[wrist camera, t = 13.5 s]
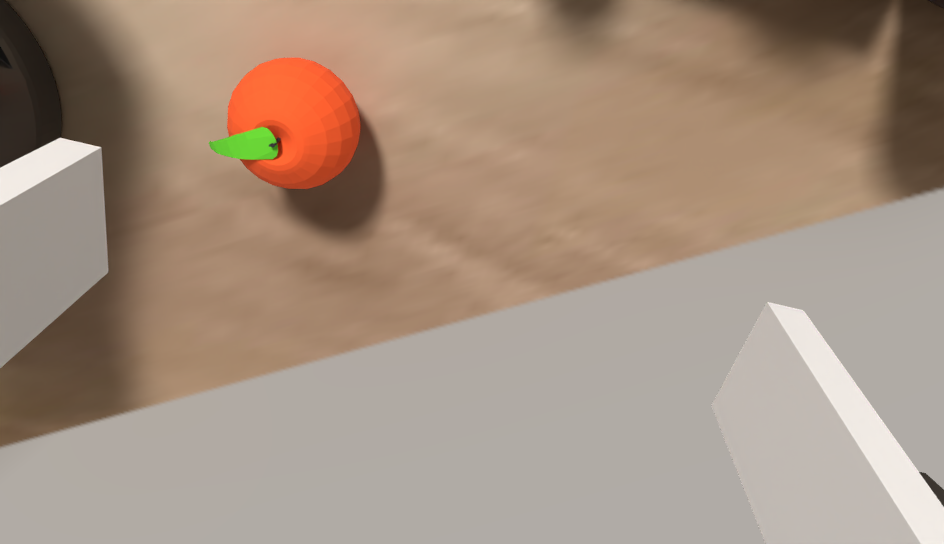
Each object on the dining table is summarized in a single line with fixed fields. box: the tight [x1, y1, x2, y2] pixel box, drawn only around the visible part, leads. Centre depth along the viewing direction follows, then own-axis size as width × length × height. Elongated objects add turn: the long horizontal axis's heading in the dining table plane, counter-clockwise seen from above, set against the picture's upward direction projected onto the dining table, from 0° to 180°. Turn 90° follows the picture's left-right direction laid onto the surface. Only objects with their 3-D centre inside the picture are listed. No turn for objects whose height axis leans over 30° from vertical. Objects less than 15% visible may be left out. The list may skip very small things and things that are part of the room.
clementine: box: [209, 58, 361, 189], centre depth 35 cm, size 8×7×7 cm
